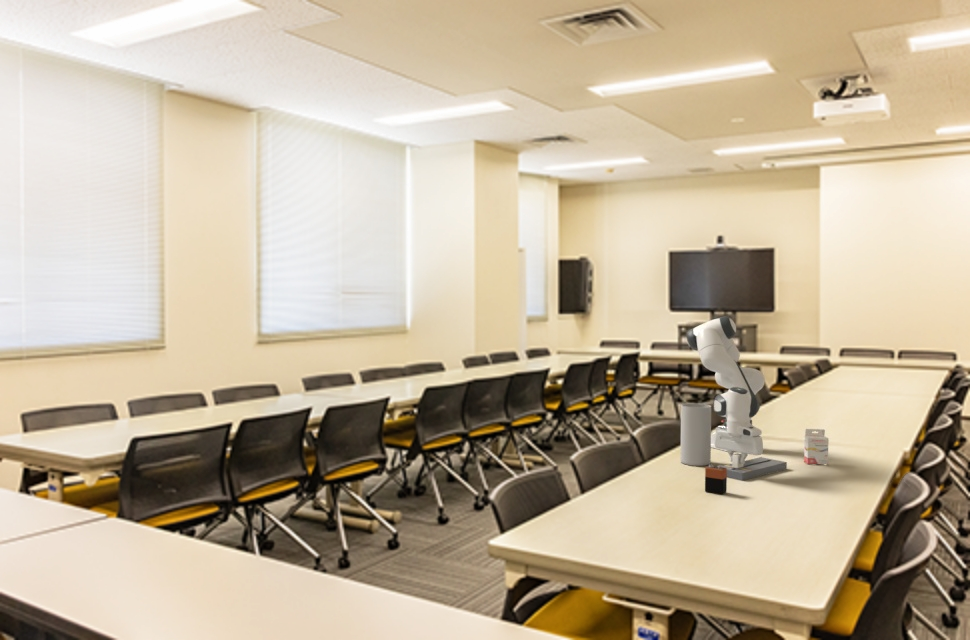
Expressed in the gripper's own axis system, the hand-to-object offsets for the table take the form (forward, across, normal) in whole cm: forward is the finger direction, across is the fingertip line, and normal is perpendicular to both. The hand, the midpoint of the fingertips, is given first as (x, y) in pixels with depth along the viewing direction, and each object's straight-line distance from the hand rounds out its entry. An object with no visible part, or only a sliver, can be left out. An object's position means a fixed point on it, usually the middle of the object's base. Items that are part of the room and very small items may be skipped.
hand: (737, 462), depth 297 cm
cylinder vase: (+5, -24, +5) cm, 25 cm away
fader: (+4, 0, 0) cm, 4 cm away
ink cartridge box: (+5, +8, +46) cm, 47 cm away
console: (+5, 0, +10) cm, 11 cm away
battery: (+6, +10, -29) cm, 31 cm away
